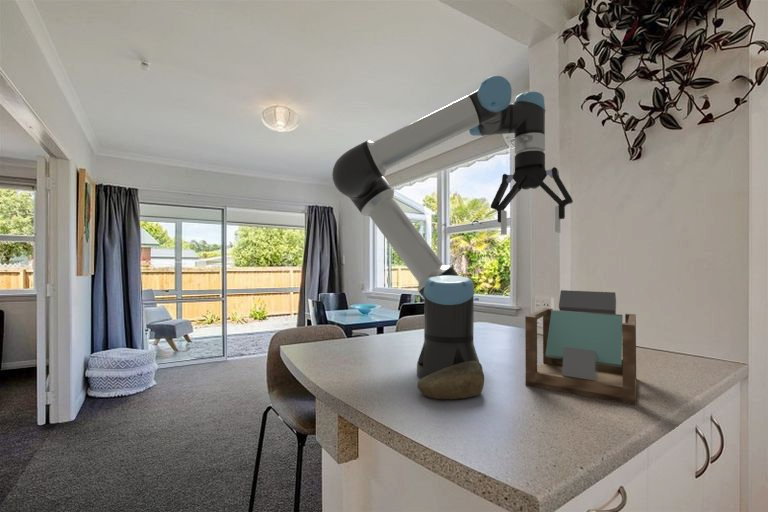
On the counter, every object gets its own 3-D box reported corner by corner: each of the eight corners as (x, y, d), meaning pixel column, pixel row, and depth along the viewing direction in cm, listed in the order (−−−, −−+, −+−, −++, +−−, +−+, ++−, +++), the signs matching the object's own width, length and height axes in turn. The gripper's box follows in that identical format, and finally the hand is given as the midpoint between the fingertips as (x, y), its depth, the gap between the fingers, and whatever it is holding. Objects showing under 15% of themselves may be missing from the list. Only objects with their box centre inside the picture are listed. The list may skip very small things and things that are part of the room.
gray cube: (566, 378, 83) (562, 375, 78) (567, 351, 85) (563, 346, 80) (597, 383, 80) (594, 380, 75) (598, 355, 81) (595, 350, 77)
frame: (525, 385, 82) (525, 316, 82) (544, 365, 98) (544, 308, 99) (635, 404, 70) (634, 325, 71) (636, 378, 87) (635, 314, 87)
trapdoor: (548, 362, 90) (545, 354, 87) (556, 298, 99) (554, 289, 97) (622, 373, 81) (621, 364, 79) (623, 302, 91) (622, 292, 88)
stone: (502, 389, 75) (485, 349, 73) (449, 432, 71) (429, 391, 68) (475, 374, 83) (459, 337, 81) (426, 412, 79) (407, 374, 76)
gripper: (479, 157, 103) (479, 234, 102) (580, 141, 89) (581, 230, 88) (488, 163, 109) (488, 236, 108) (584, 149, 95) (584, 232, 94)
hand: (529, 233), depth 98 cm, fingers open, 13 cm apart
